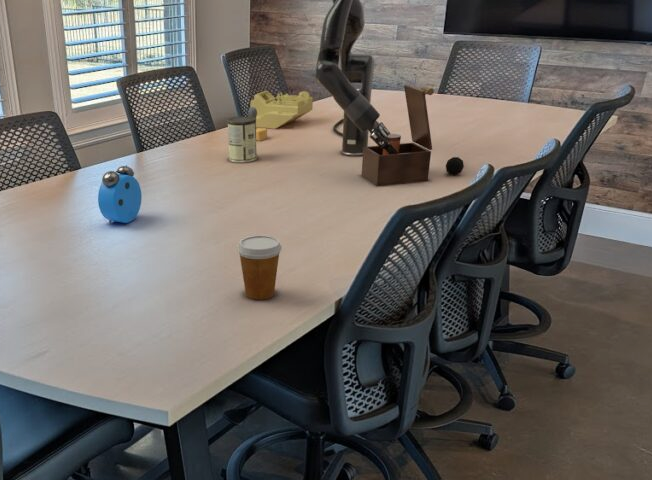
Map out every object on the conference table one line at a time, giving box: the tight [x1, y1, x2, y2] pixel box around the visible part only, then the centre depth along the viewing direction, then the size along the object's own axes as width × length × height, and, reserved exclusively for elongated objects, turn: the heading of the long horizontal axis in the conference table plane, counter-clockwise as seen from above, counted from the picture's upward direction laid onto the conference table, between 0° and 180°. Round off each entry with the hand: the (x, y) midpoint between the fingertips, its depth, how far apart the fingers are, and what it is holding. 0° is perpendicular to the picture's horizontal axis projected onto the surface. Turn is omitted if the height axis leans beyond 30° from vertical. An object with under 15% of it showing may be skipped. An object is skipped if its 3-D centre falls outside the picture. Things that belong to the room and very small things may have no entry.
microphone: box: [445, 156, 465, 176], centre depth 240 cm, size 6×6×20 cm
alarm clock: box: [97, 164, 142, 225], centre depth 203 cm, size 13×6×15 cm, turn 151°
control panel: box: [250, 90, 314, 130], centre depth 312 cm, size 24×16×20 cm
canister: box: [382, 133, 402, 155], centre depth 229 cm, size 5×5×10 cm
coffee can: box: [227, 115, 258, 164], centre depth 260 cm, size 10×10×14 cm
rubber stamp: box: [248, 106, 268, 142], centre depth 289 cm, size 10×6×12 cm, turn 53°
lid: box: [403, 84, 435, 151], centre depth 226 cm, size 18×13×6 cm
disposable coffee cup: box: [236, 235, 283, 301], centre depth 156 cm, size 10×10×12 cm
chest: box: [361, 142, 432, 187], centre depth 232 cm, size 17×13×9 cm
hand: (396, 153), depth 229 cm, fingers closed on canister, 5 cm apart
